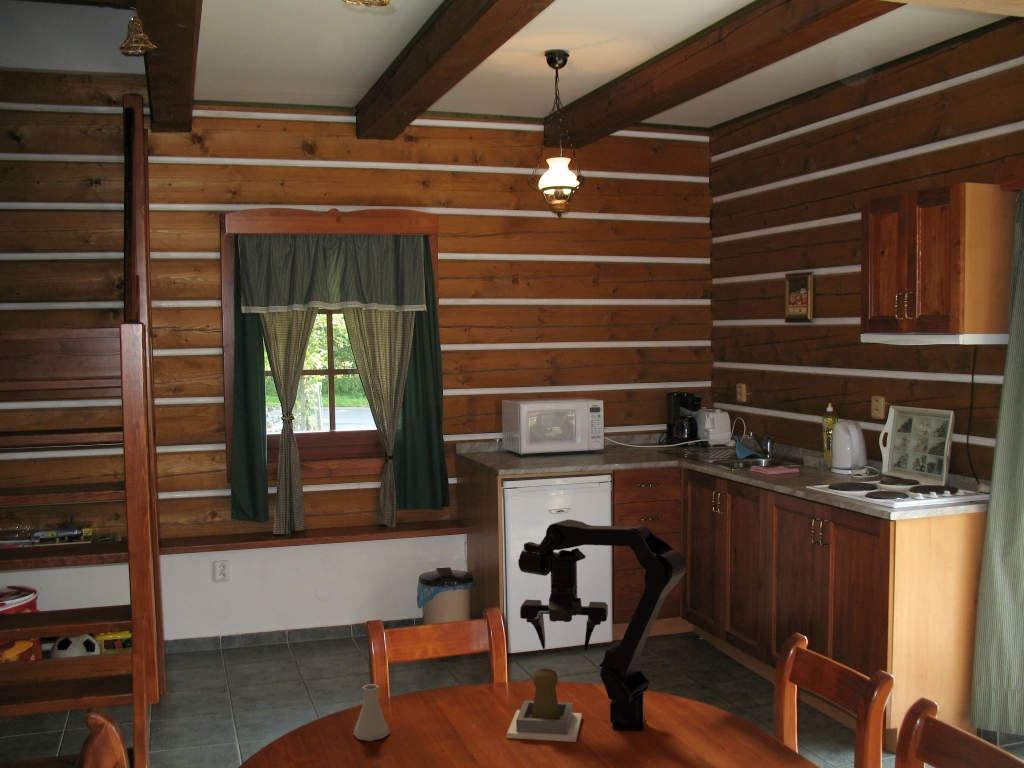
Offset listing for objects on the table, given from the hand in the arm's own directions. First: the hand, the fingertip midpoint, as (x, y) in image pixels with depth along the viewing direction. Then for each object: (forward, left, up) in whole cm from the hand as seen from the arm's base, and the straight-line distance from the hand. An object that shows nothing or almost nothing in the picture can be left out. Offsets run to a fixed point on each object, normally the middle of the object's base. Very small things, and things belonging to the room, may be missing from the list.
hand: (564, 649), depth 202 cm
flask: (+38, +19, -13) cm, 44 cm away
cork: (+3, +11, -12) cm, 17 cm away
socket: (+3, +11, -13) cm, 17 cm away
